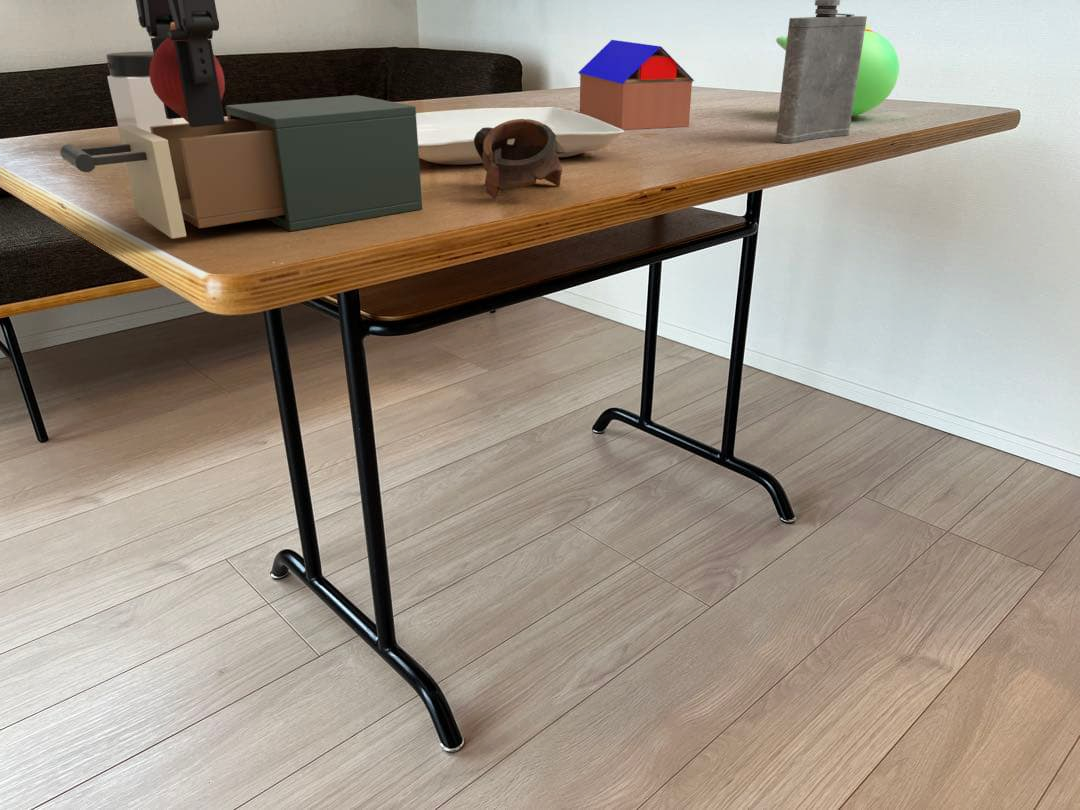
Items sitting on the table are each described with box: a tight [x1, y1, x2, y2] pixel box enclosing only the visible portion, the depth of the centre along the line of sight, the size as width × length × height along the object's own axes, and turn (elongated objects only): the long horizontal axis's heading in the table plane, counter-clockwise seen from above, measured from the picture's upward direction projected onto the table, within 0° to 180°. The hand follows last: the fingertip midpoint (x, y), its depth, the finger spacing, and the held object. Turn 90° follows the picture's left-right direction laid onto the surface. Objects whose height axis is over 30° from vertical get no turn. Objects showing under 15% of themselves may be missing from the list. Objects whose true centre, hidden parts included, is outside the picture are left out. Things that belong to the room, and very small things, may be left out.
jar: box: [106, 51, 188, 133], centre depth 112 cm, size 9×8×12 cm
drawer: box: [59, 118, 285, 240], centre depth 73 cm, size 18×11×8 cm, turn 128°
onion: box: [149, 22, 226, 123], centre depth 70 cm, size 6×6×8 cm
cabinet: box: [225, 94, 423, 232], centre depth 80 cm, size 14×12×10 cm
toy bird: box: [775, 24, 900, 117], centre depth 136 cm, size 18×17×15 cm
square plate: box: [416, 106, 625, 166], centre depth 111 cm, size 27×27×4 cm
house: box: [577, 39, 695, 131], centre depth 135 cm, size 12×20×12 cm, turn 17°
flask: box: [774, 0, 868, 144], centre depth 116 cm, size 4×14×18 cm, turn 124°
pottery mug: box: [474, 119, 565, 200], centre depth 88 cm, size 12×10×8 cm
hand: (194, 120), depth 72 cm, fingers closed on onion, 6 cm apart
